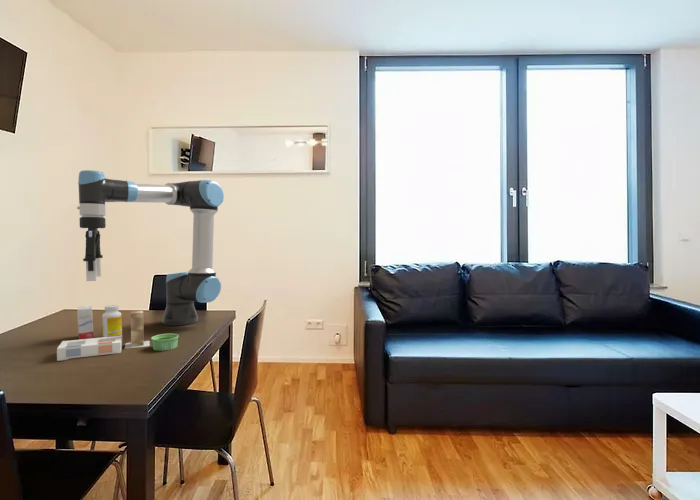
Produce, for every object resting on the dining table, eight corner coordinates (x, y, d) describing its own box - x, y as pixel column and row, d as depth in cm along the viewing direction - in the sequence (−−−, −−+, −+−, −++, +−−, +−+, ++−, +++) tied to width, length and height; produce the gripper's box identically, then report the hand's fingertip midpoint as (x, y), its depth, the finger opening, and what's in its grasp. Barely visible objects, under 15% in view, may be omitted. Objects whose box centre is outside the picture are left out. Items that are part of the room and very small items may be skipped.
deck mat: (149, 341, 157) (149, 340, 157) (149, 347, 150) (149, 345, 150) (125, 344, 153) (125, 343, 153) (124, 349, 146) (124, 348, 146)
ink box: (93, 338, 160) (92, 308, 160) (77, 340, 158) (77, 310, 157) (92, 334, 168) (92, 305, 167) (77, 335, 165) (77, 306, 164)
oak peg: (143, 342, 154) (143, 310, 154) (143, 345, 151) (143, 312, 150) (131, 343, 152) (131, 311, 152) (131, 346, 149) (130, 313, 148)
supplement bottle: (126, 337, 163) (125, 305, 162) (111, 341, 157) (110, 308, 156) (113, 335, 165) (112, 304, 165) (98, 339, 159) (97, 306, 158)
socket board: (122, 346, 150) (122, 334, 150) (120, 354, 141) (120, 341, 141) (62, 352, 142) (62, 340, 142) (57, 361, 133) (56, 347, 133)
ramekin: (151, 346, 151) (151, 334, 151) (178, 344, 154) (178, 332, 154) (150, 353, 142) (150, 340, 142) (178, 350, 146) (178, 338, 146)
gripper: (84, 217, 150) (86, 275, 151) (73, 215, 128) (75, 283, 129) (108, 217, 153) (109, 274, 154) (101, 215, 131) (102, 282, 132)
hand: (94, 278), depth 141 cm, fingers open, 13 cm apart
